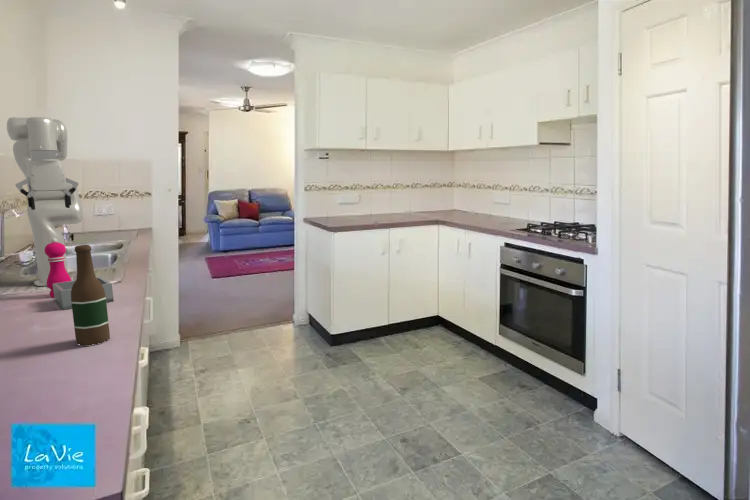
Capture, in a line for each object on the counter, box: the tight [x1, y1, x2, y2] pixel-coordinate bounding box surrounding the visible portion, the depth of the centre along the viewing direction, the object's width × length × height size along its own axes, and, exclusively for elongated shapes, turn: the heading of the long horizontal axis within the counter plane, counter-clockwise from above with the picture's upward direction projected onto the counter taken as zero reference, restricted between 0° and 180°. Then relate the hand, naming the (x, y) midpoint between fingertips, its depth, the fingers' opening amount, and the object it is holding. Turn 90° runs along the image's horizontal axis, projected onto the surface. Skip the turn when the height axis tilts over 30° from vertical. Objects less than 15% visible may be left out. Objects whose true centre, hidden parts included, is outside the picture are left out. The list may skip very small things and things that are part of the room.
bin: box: [53, 276, 114, 311], centre depth 155 cm, size 14×14×6 cm
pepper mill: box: [45, 238, 72, 299], centre depth 162 cm, size 7×7×20 cm
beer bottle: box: [71, 244, 111, 346], centre depth 116 cm, size 8×8×24 cm
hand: (50, 208), depth 159 cm, fingers open, 9 cm apart
